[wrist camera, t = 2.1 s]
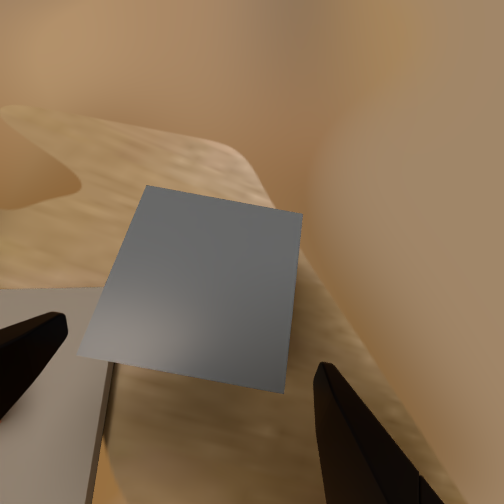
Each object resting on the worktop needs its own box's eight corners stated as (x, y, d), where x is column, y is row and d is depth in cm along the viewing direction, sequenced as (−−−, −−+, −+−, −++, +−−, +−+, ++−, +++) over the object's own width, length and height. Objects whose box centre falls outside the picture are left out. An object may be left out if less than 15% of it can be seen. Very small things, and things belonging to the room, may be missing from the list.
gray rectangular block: (256, 369, 17) (283, 393, 7) (164, 352, 17) (76, 355, 7) (269, 280, 19) (302, 213, 10) (189, 265, 19) (146, 185, 10)
